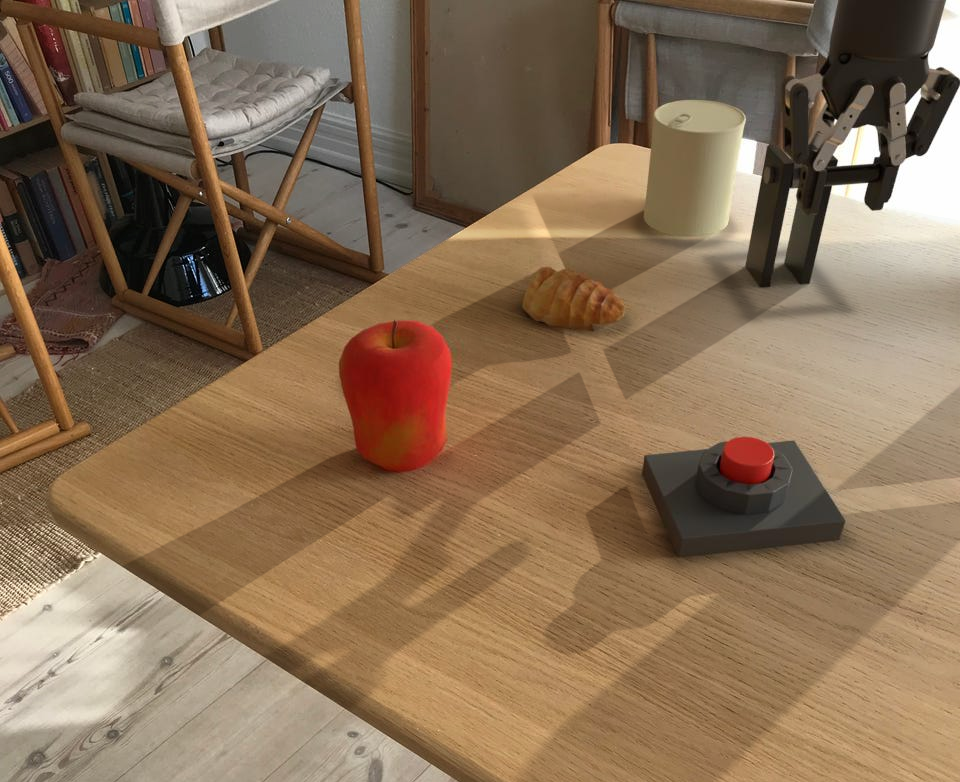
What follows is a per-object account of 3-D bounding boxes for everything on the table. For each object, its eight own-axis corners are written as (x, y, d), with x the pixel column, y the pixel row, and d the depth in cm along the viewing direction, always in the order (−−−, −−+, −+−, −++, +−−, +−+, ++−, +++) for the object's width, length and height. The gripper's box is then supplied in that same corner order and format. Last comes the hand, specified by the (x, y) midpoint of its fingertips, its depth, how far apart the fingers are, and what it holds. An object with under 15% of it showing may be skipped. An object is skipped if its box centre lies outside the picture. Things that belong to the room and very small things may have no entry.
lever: (880, 189, 85) (883, 156, 84) (822, 193, 85) (824, 161, 84) (816, 185, 96) (818, 156, 95) (764, 188, 96) (766, 160, 95)
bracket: (842, 312, 98) (877, 175, 89) (750, 321, 98) (777, 182, 88) (796, 256, 107) (824, 124, 98) (711, 262, 106) (732, 131, 97)
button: (760, 454, 77) (764, 434, 75) (777, 483, 74) (781, 463, 73) (712, 458, 76) (716, 438, 75) (728, 488, 74) (732, 468, 73)
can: (623, 228, 112) (634, 110, 103) (678, 203, 116) (693, 87, 107) (690, 257, 107) (707, 135, 98) (745, 229, 111) (766, 110, 103)
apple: (395, 414, 87) (385, 280, 79) (476, 447, 84) (475, 312, 75) (327, 464, 82) (308, 327, 74) (410, 501, 79) (400, 363, 70)
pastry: (635, 313, 99) (639, 275, 96) (605, 346, 95) (608, 307, 92) (547, 290, 102) (549, 253, 99) (514, 321, 98) (515, 283, 95)
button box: (789, 463, 82) (799, 419, 79) (838, 544, 75) (852, 500, 72) (641, 478, 81) (646, 435, 78) (677, 562, 74) (685, 518, 71)
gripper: (822, -6, 72) (774, 235, 84) (1016, -16, 73) (941, 222, 85) (784, -33, 77) (743, 197, 89) (965, -42, 79) (901, 185, 91)
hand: (840, 208), depth 87 cm, fingers closed on lever, 5 cm apart
